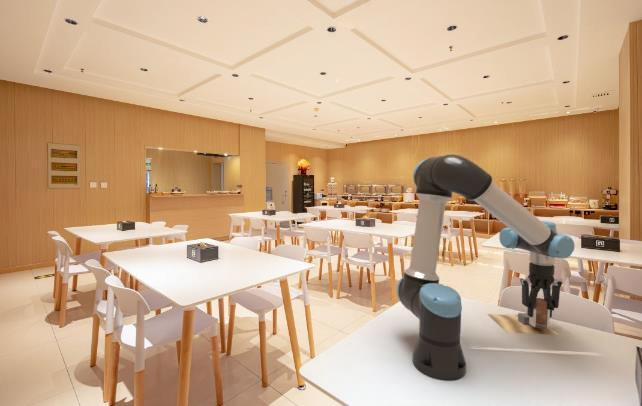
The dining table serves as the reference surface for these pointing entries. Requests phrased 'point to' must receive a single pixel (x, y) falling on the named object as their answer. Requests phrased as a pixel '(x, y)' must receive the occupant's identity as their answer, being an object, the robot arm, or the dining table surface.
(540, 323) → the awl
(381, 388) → the dining table surface
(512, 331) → the board
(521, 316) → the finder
